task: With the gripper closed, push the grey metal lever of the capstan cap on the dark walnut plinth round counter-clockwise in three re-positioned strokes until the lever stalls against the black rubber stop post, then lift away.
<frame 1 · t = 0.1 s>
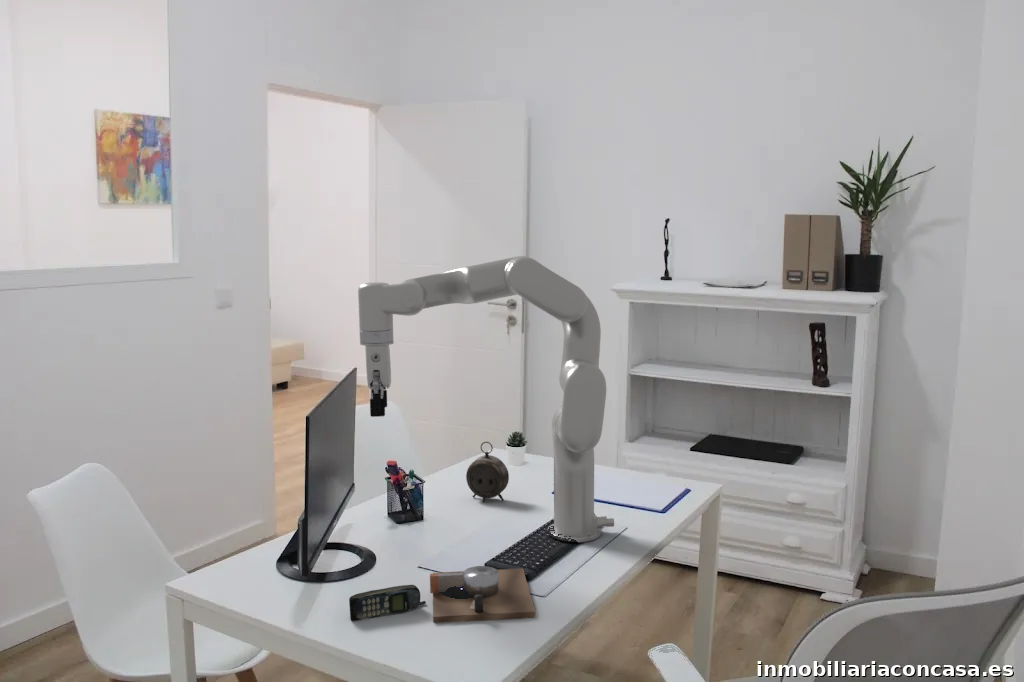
hand: (379, 411, 203), 31 cm above the table, tool pointing down, fingers open, 9 cm apart
mobile phone: (388, 614, 170), on the table
plinth: (481, 596, 176), on the table
alarm clock: (487, 501, 237), on the table
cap: (464, 581, 175), point 3 cm above the table, hinge at 0.0°
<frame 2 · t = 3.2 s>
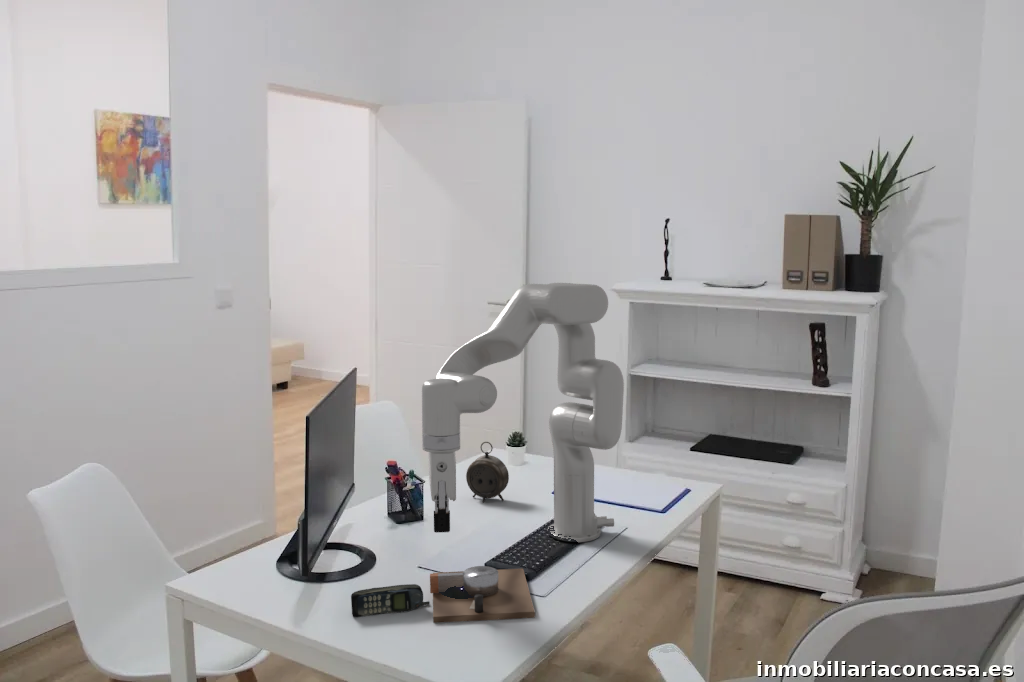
hand: (441, 530, 178), 13 cm above the table, tool pointing down, fingers closed
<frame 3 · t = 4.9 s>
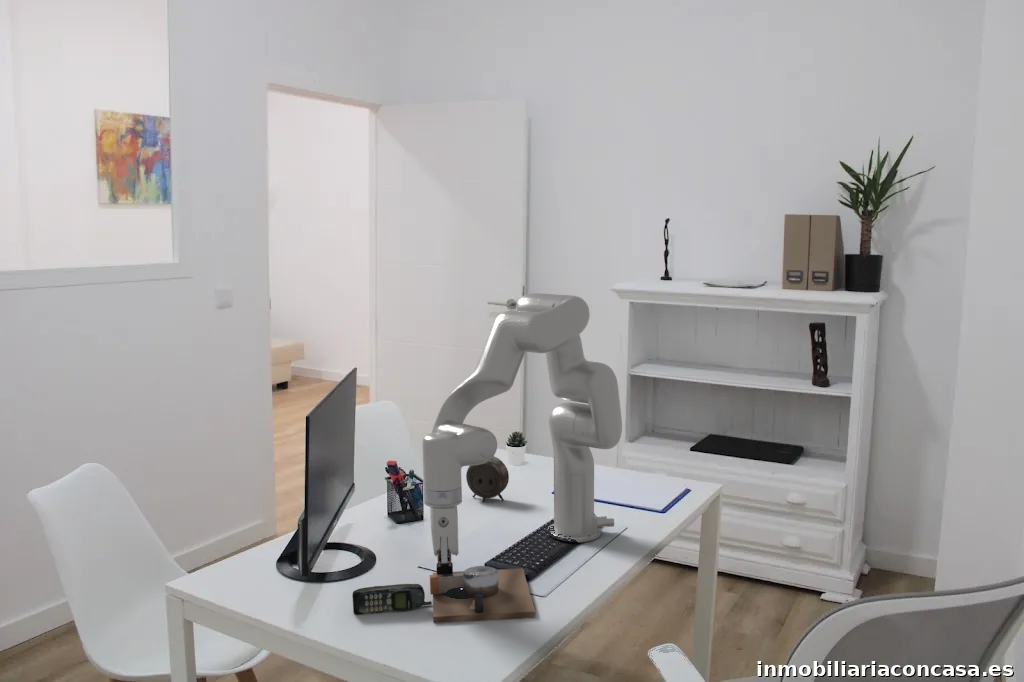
hand: (445, 583, 177), 2 cm above the table, tool pointing down, fingers closed
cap: (464, 582, 175), point 3 cm above the table, hinge at 3.8°, touching gripper
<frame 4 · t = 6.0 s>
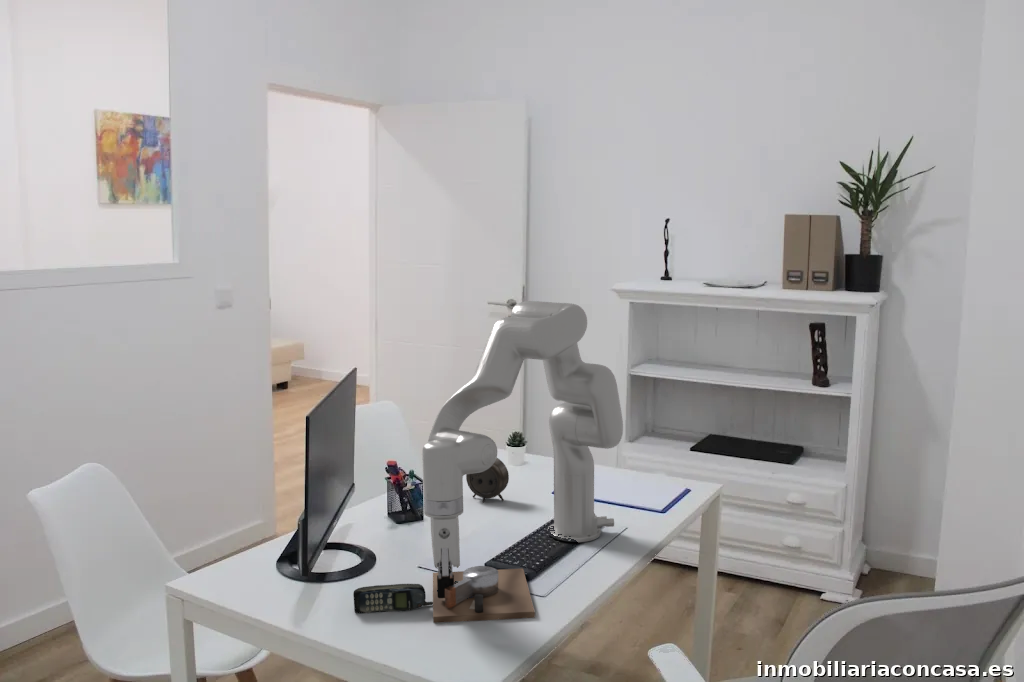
hand: (446, 596, 172), 2 cm above the table, tool pointing down, fingers closed
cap: (470, 586, 173), point 3 cm above the table, hinge at 47.9°, touching gripper
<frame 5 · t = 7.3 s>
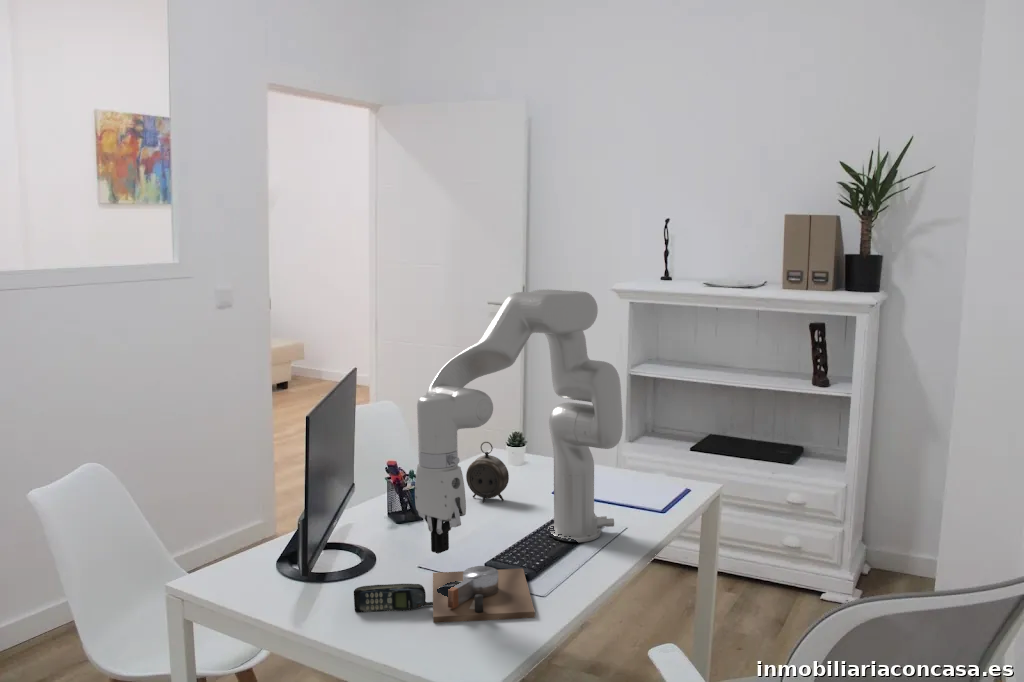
hand: (440, 550, 172), 11 cm above the table, tool pointing down, fingers closed
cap: (471, 586, 173), point 3 cm above the table, hinge at 52.0°
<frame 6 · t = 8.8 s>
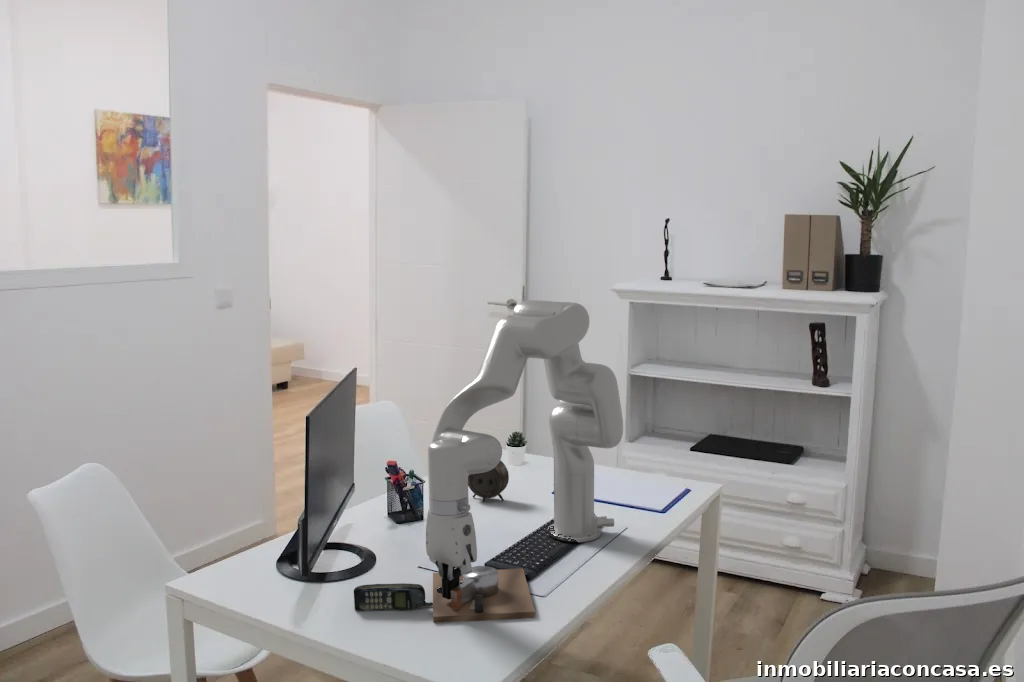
hand: (451, 596, 171), 2 cm above the table, tool pointing down, fingers closed
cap: (472, 587, 173), point 3 cm above the table, hinge at 56.5°, touching gripper
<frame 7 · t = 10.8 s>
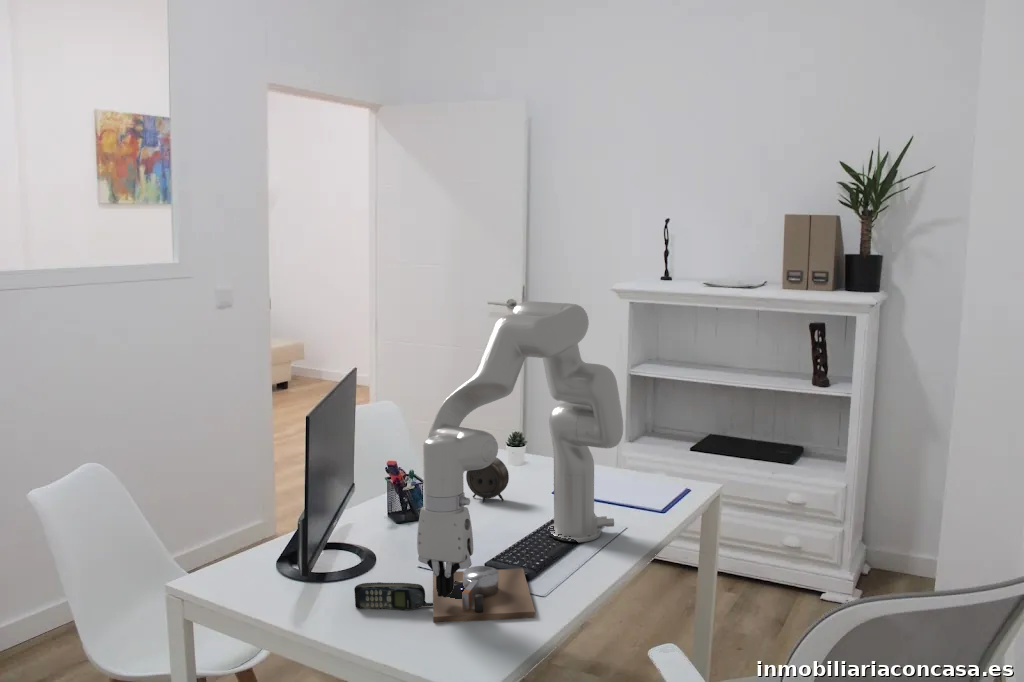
hand: (445, 594, 170), 3 cm above the table, tool pointing down, fingers closed
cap: (476, 587, 173), point 3 cm above the table, hinge at 70.1°
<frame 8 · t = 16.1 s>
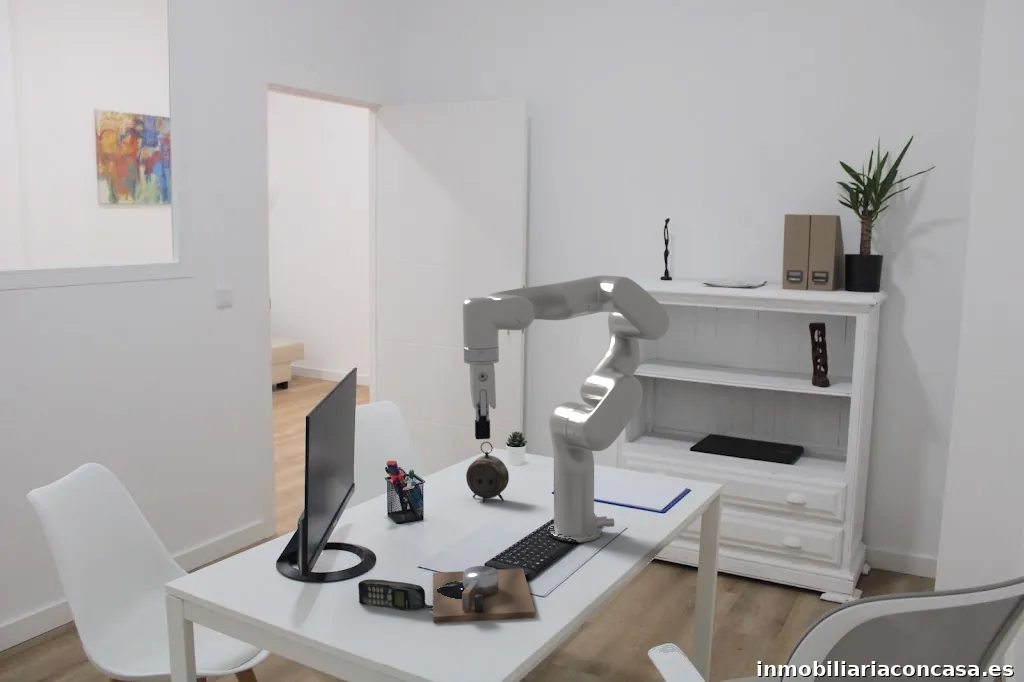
hand: (482, 438, 193), 27 cm above the table, tool pointing down, fingers closed
at the end: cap at +70° (first picture: +0°); the gripper is holding nothing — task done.
